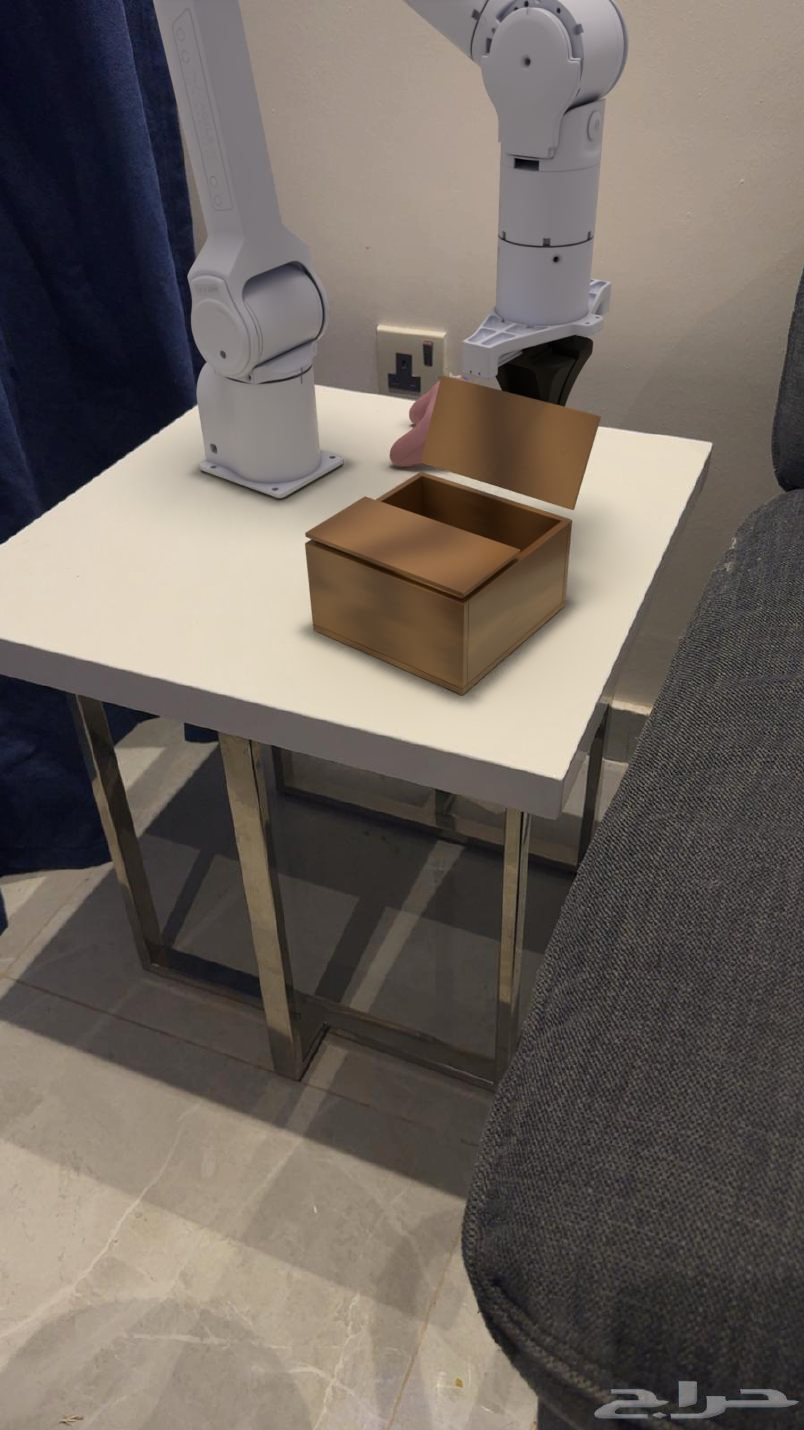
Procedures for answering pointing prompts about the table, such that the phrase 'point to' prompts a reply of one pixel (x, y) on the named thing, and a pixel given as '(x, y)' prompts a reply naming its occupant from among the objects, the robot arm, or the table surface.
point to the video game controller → (417, 429)
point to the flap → (510, 441)
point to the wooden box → (437, 577)
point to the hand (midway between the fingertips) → (533, 448)
